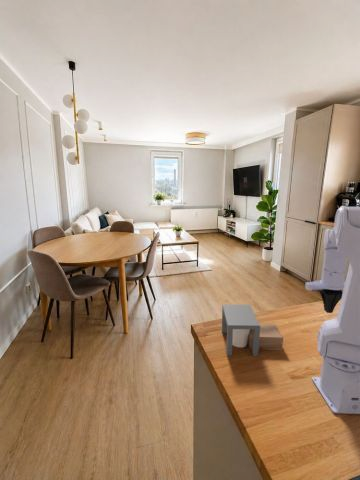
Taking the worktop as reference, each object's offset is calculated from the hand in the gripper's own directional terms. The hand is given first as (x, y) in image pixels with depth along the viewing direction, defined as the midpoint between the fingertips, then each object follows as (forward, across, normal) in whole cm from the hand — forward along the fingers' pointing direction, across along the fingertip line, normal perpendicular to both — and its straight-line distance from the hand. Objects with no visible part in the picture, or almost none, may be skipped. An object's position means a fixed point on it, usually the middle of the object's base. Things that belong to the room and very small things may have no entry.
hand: (328, 311), depth 72 cm
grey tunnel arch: (+10, +28, +2) cm, 29 cm away
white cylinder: (+10, +27, +2) cm, 29 cm away
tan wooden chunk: (+10, +20, +2) cm, 22 cm away
